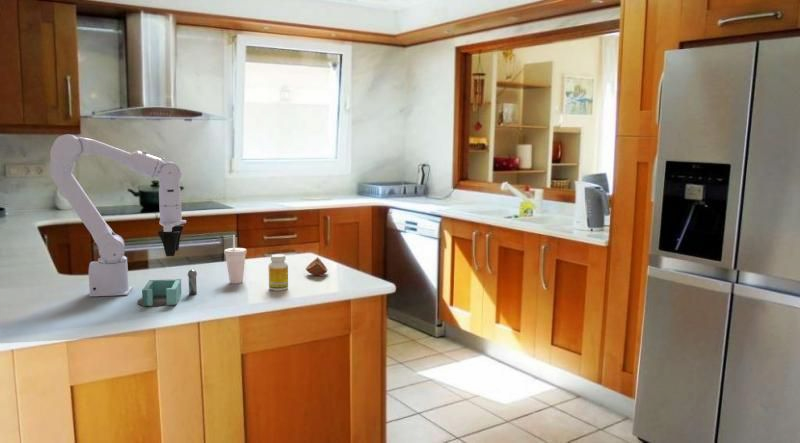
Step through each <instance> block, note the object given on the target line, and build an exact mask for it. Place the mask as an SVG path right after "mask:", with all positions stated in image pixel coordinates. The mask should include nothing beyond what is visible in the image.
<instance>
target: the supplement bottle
mask: <svg viewBox="0 0 800 443" xmlns="http://www.w3.org/2000/svg"><path fill="white" fill-rule="evenodd" d="M270 261H271V262H269V264H268V289H269V290H271V291H275V292H276V291H277V292H278V291H279V292H280V291H285V290H287V289H288V288H289V264H288V263H287V262H286V255H285V254H283V253H280V254H279V253H278V254H272V255H270Z"/></svg>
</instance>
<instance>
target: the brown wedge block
mask: <svg viewBox="0 0 800 443" xmlns="http://www.w3.org/2000/svg"><path fill="white" fill-rule="evenodd" d="M305 270H306V272H307V273H309V274H311V275H314V276H322V275H325V274H326V273H327V272H328V268H327V266H326V265H325V264H324V262H322V260H321V258H320V257H316V258H314V259H313V260H312V261H311V262H310V263H309V264H308V265H307V266H306V267H305Z"/></svg>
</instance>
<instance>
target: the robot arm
mask: <svg viewBox="0 0 800 443" xmlns="http://www.w3.org/2000/svg"><path fill="white" fill-rule="evenodd" d="M49 152H50V167H49V168H50V169H49V171H50V172H49V173H50V174H49V175H50V177H51V179H52V180H53V182H54V183H55V185H56V187H57V188H58V189H59V191H60V192H61V193H62V194H63V196H64V198H65V199H66V200H67V203H68V204H69V205H70V206H71V208H72V209H73V210H74V212H75V213H76V215H77V216H78V217H79V219H80V221H81V222H82V223H83V225H84V226H85V228H86V229H87V230H88V231H89V233H90V235H91V236H92V239H93V241H94V243H95V244H96V246H97V248H98V254H99V257H98V258H97V261H90V262H89V265H88V286H89V294H88V296H89V297H110V296H127V295H128V294H129V293H130V292H131V290H132V289H133V286H131V285H129V269H128V268H129V267H128V266H129V265H128V257H127V256H125V253H126V252H125V250H126V249H125V246H126V244H125V240H124V239H123V237H122V236H121V235H119V234H117V233H115V232H114V231H113V229H112V228H111V227H110V225H109V224H108V223H107V222H106V221H105V219H104V218H103V216H102V215H101V213H100V212H99V210H98V209H97V207H96V206H95V204H94V203H93V202H92V200H91V199H90V197H89V196H88V195H87V193H86V192H85V190H84V188H83V187H82V185H81V184H80V183H79V181H78V180H77V178H76V177H75V175H74V174H73V172H74V168H75V165H76V161H77V160H78V159H79V157H80V156H81V154H82V155H83V157H85V156H87V157H88V156H94V155H95V156H96V155H97V156H100V157H103V158H106V159H110V160H113V161H116V162H120V163H122V164H126V165H127V167H128V168H129V170H130V171H131V172H134V173H137V174H140V175H143V176H146V177H149V178H152V179H155V178H158V179H159V182H158V183H159V188H158V203H159V221H158V222H159V225H160V226H162V229H163V230H162V229H161V230H158V231H157V234H158V237H159V238H160V240H161V242H162V245H163V250H164V254H165V256H166V257H175V256H176V255H175V254H176V252H178V251H179V248H180V242H181V235H182V233H183V230H184V228H185V225H184V224H186V223H187V220H186V219H183V216H182V191H181V187H180V186H181V181H180V180H181V177H182V172H181V169H180V167H179V166H178V165H177V164H176V163H174V162H172V161H171V160H166V158H165V157H161V158H160V157H157V156H156V155H155V156H154V155H152V154H149V153H148V151H147V150H141V151H140V150H135V151H134V152H128V151H126V150H123V149H120V148H117V147H116V146H112V145H110V144H107V143H104V142H102V141H98V140H97V139H92V138H87V137H82V136H77V135H74V134H69V133H68V134H63V135H60V136H58V137H57V138H55V140H54V141H53V144H52V146H51V149H50V151H49Z"/></svg>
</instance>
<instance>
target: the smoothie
mask: <svg viewBox="0 0 800 443" xmlns="http://www.w3.org/2000/svg"><path fill="white" fill-rule="evenodd" d="M223 251H224V255H225V260H226V268H227V272H228V279H229V280H228V281H229V283H230V284H234V283H236V284H241V282H242V283H243V282H244V272H245V263H246V255H247V248H244V247H236V235H235V234H232V247H230V248H226V249H224V250H223Z"/></svg>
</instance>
